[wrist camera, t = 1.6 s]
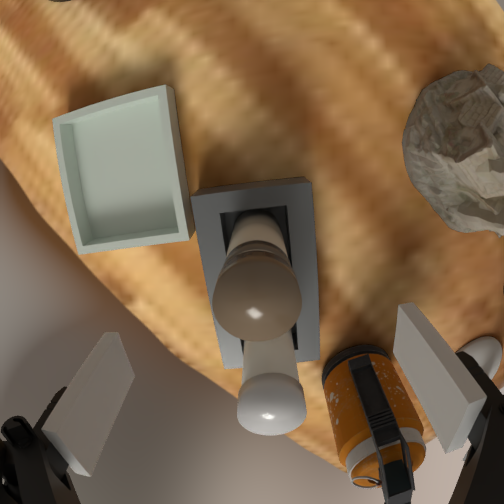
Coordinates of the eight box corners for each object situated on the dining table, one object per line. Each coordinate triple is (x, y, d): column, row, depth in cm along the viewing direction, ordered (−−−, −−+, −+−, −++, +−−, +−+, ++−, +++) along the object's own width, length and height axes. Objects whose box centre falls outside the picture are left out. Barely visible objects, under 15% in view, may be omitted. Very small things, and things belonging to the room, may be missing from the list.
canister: (327, 401, 39) (354, 531, 20) (310, 341, 36) (343, 495, 17) (390, 381, 38) (441, 501, 19) (383, 318, 35) (458, 452, 16)
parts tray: (67, 119, 27) (52, 118, 24) (174, 89, 27) (165, 84, 24) (91, 245, 32) (78, 254, 29) (195, 230, 31) (189, 240, 29)
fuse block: (196, 189, 30) (188, 197, 26) (304, 176, 29) (311, 182, 26) (225, 346, 36) (222, 369, 32) (314, 337, 35) (319, 359, 32)
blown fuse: (227, 209, 30) (204, 269, 16) (279, 203, 29) (299, 258, 16) (235, 257, 31) (220, 344, 18) (284, 252, 31) (304, 337, 18)
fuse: (241, 296, 33) (231, 395, 19) (288, 291, 32) (306, 388, 19) (247, 335, 34) (242, 437, 21) (291, 330, 34) (307, 431, 21)
